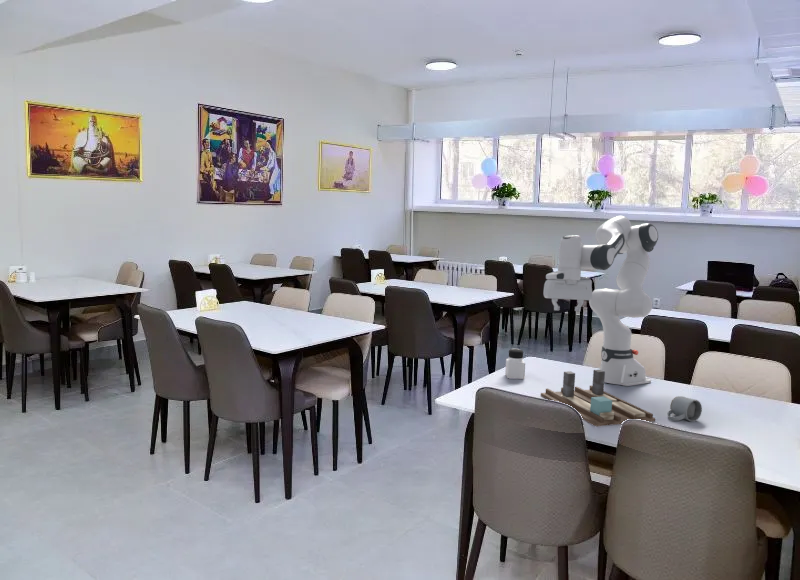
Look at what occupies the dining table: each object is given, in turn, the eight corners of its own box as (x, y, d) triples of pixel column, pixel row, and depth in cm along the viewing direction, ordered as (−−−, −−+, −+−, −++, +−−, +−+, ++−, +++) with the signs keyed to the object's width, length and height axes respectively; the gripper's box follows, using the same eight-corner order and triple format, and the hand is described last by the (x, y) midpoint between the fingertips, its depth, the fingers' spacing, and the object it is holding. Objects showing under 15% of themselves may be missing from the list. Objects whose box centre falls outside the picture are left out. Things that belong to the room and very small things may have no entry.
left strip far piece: (620, 404, 237) (620, 401, 237) (645, 416, 224) (645, 413, 224) (608, 405, 236) (608, 402, 235) (633, 417, 222) (633, 414, 222)
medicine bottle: (524, 379, 272) (526, 351, 271) (507, 378, 272) (509, 351, 271) (521, 375, 279) (523, 347, 278) (505, 374, 279) (506, 347, 278)
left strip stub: (600, 395, 248) (602, 369, 247) (616, 402, 239) (618, 376, 238) (589, 395, 247) (591, 370, 245) (605, 403, 237) (607, 376, 236)
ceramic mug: (682, 413, 232) (684, 392, 231) (701, 420, 225) (703, 399, 224) (661, 417, 228) (662, 396, 227) (679, 424, 221) (681, 402, 220)
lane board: (593, 391, 257) (594, 385, 256) (655, 421, 223) (655, 413, 223) (540, 395, 249) (541, 388, 249) (595, 426, 216) (596, 418, 215)
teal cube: (602, 410, 226) (603, 396, 225) (611, 414, 221) (612, 400, 220) (590, 411, 224) (591, 397, 224) (598, 415, 220) (599, 401, 219)
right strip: (571, 397, 244) (573, 371, 243) (613, 419, 220) (615, 390, 219) (559, 398, 243) (561, 371, 242) (601, 420, 218) (603, 391, 217)
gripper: (587, 277, 260) (585, 311, 260) (542, 274, 253) (540, 309, 253) (596, 277, 254) (594, 312, 254) (550, 274, 247) (548, 310, 247)
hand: (567, 310), depth 253 cm, fingers open, 8 cm apart
